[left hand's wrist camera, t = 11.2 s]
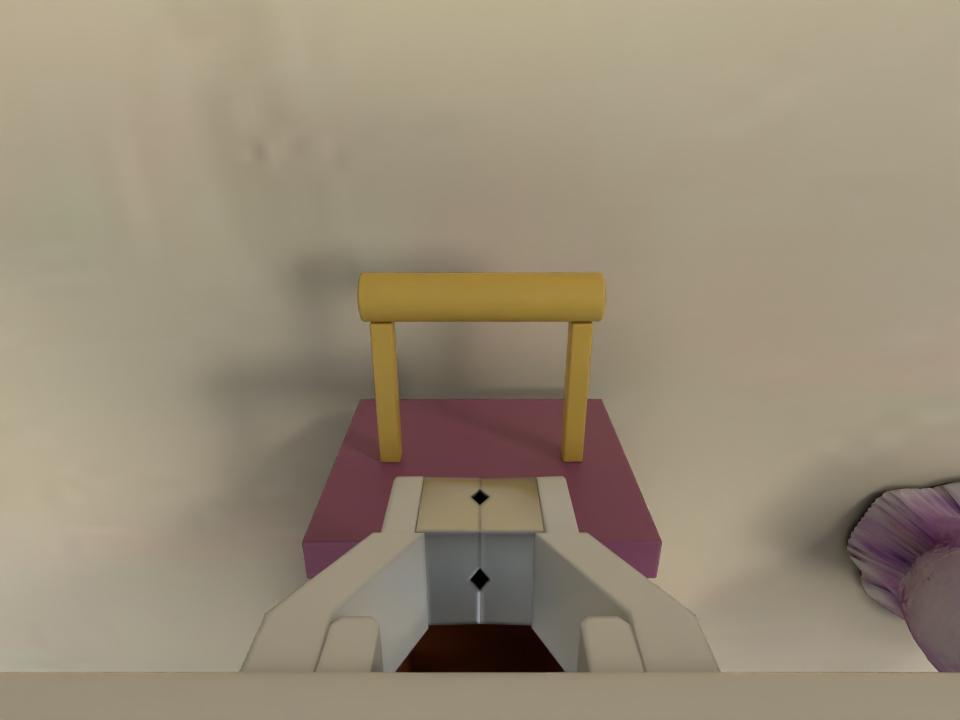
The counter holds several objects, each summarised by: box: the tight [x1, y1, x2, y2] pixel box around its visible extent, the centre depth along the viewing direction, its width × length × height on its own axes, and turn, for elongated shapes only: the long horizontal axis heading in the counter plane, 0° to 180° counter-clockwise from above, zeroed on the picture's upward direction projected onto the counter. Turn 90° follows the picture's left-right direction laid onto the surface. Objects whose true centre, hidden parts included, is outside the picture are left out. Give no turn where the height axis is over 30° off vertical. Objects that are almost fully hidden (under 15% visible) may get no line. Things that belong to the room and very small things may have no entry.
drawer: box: [302, 273, 662, 672], centre depth 20 cm, size 21×9×8 cm, turn 0°
